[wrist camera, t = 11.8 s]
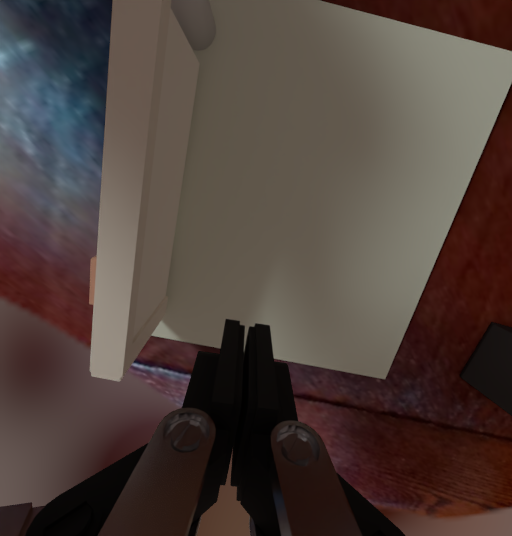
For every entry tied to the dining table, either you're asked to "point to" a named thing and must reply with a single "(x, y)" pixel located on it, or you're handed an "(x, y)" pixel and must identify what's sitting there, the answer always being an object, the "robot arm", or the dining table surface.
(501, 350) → the phone stand
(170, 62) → the gate
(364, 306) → the base
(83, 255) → the dining table surface
